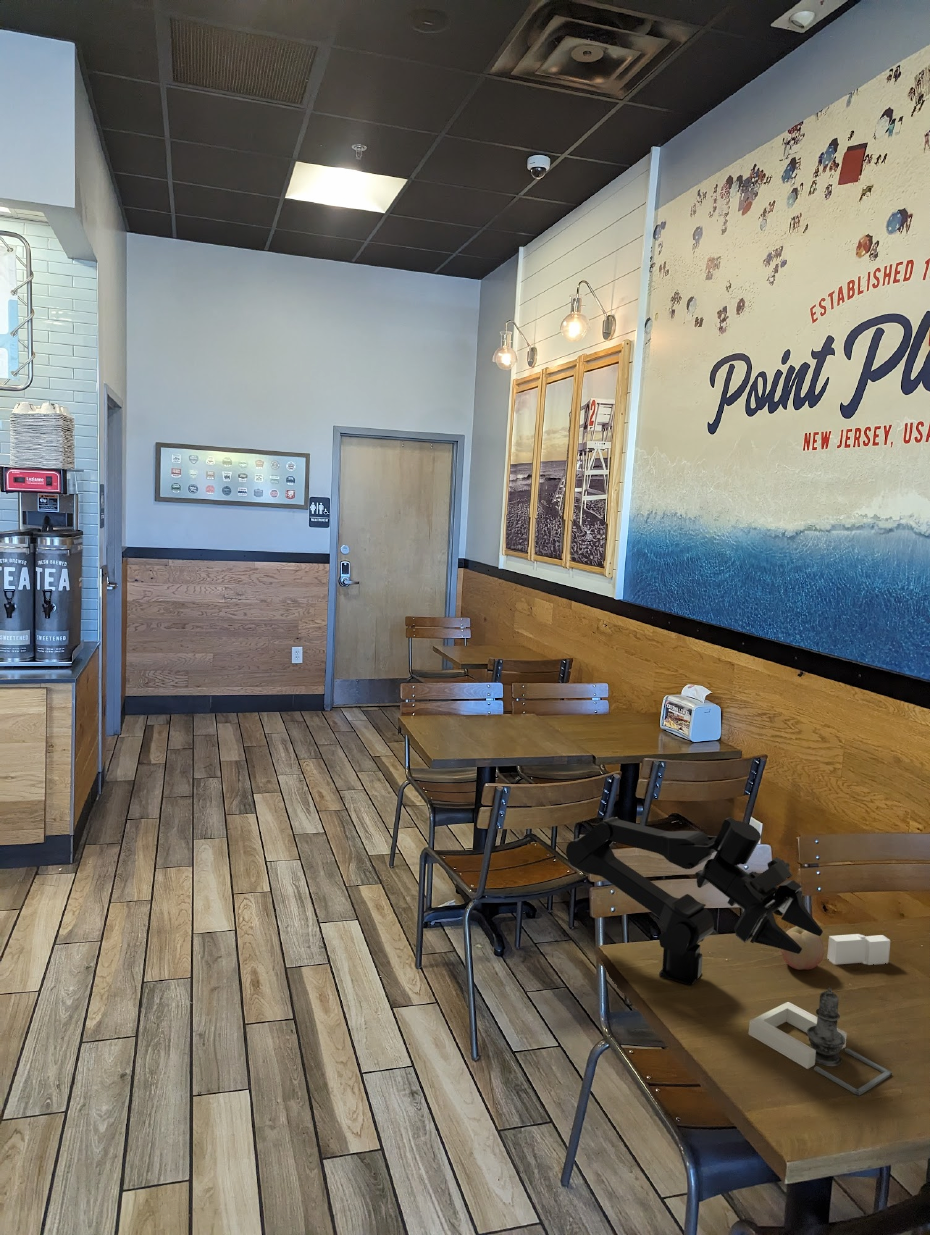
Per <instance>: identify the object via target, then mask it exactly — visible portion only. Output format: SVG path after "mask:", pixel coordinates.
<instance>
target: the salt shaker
mask: <svg viewBox="0 0 930 1235" xmlns="http://www.w3.org/2000/svg"><path fill="white" fill-rule="evenodd" d="M839 1001H840V1000H839V997H838V995H837V994H835V992H833V989H832V987H828V988H827V990H826V991H822V992H821V993H820V994H819V1003H818V1008H816V1010H815V1013H816V1016H817V1017H818V1018H817V1025H816V1026H812V1027H810V1028H808V1030H807V1033H806V1035H807V1037H808V1041H809V1045H810V1047H811V1048H813V1049H814V1050H816V1056H815V1063H817V1064H818V1065H819V1064H820V1065H821V1066H826V1067H837V1066H839V1065H841V1064H842V1057H841V1055H840V1054H839V1053H840V1052H841V1050H843V1049H842V1047H843V1045H844V1044H845V1038H844V1036H843V1035H842V1034H841V1033H839V1032H838V1031H837V1028H838V1021H839V1020H840V1018H841V1016H840V1014H839V1013H838V1011H839V1003H840V1002H839Z"/></svg>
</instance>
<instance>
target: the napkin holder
mask: <svg viewBox="0 0 930 1235" xmlns="http://www.w3.org/2000/svg"><path fill="white" fill-rule="evenodd" d="M890 949H891V939H889V938H888V937H886V936H885V935H883V934H879V935H877V934H876V935H868V936H867V935H866V936H865V935H864V934H861V933H852V934H839V935H829V936H828V947H827V956H826V957H827V958H826V959H827V960H828V959H829V960H828V961H829V962H830V963H832V964H833V965H836V966H837V965H844V964H845V965H847V964H858V963H859V964H860V963H861V964H863V965H868V966H871V965H873V964H874V965H884V964H885V963H886V964H889V962H890V961H889V960H890V952H891V951H890Z"/></svg>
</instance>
